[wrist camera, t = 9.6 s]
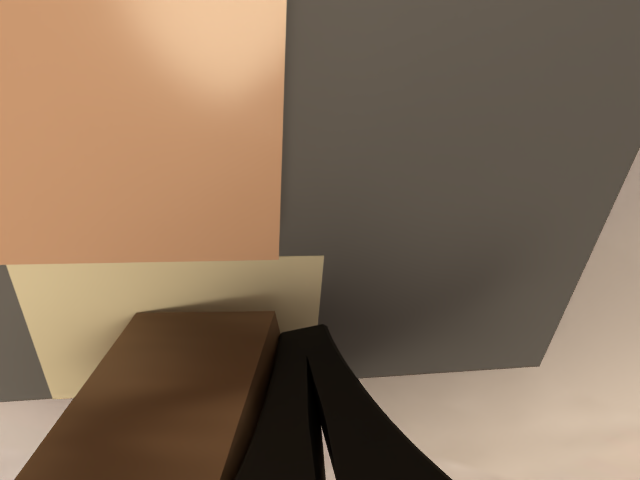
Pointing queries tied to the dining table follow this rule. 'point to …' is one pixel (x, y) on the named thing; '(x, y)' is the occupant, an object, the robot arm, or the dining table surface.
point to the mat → (394, 195)
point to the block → (166, 401)
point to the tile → (140, 130)
